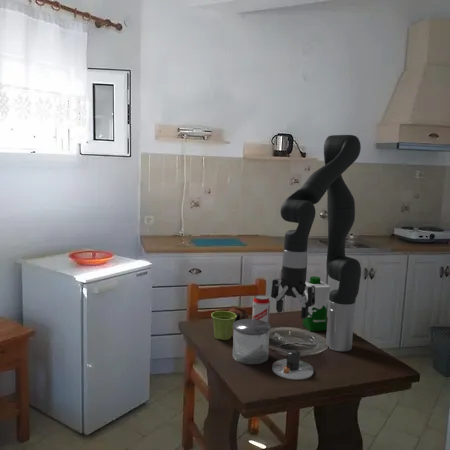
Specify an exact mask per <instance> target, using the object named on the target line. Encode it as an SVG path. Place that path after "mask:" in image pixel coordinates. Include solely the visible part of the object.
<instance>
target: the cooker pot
mask: <svg viewBox="0 0 450 450" xmlns="http://www.w3.org/2000/svg"><path fill="white" fill-rule="evenodd" d="M271 329H272V327H271V324H270V323H269V324H268V323H267V322H264V321H261V320H256V319H252V318H248V319H242V320H238V321H235V322H234V323H233V332H232V335H233V338H232V358H233V359H234V361H236V362H238V363H242V364H244V365H259V364H263V363H265V362H267V361H268V360H269V349H270V330H271Z"/></svg>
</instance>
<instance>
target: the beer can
mask: <svg viewBox="0 0 450 450" xmlns="http://www.w3.org/2000/svg"><path fill="white" fill-rule="evenodd" d="M270 305H271V300H270V297H269V296H268V295H265V294H257V295H255V296H254V299H253V300H252V315H251V316H252V317H251V319H256V320H261V321H264V322H267V323H268V324H270V310H271V309H270V307H271V306H270Z"/></svg>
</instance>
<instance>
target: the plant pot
mask: <svg viewBox="0 0 450 450" xmlns="http://www.w3.org/2000/svg"><path fill="white" fill-rule="evenodd" d="M210 316H211V318H212V322H213V324H212V325H213V333H214V338H215V340H222V341H228V340H230V339H231V338H232V335H233V331H234V328H233V323H234V321H235V318H236V317H237V315H236V314H235V313H232V312H228V310H227V311H226V310H216V311H214V312H211V315H210Z"/></svg>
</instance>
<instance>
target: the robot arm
mask: <svg viewBox="0 0 450 450" xmlns="http://www.w3.org/2000/svg"><path fill="white" fill-rule="evenodd" d="M361 149H362V145H361V142H360V139H359V138H358V136H357V135H354V134H336V135H335V134H331V135H328V136H327V137H326V139H325V140H324V144H323V159H324V165H323V166H321V167H320V168H318V169H317V170H315V171H314V172H312V173H311V174H310V175H309V177H308V178H307V179H306V180H305V182H304V183H303V184H302V186H300V188H298V189H297V190H296V191H294V192H293V193H292V194H291V195H289V196H288V197H287V198H285V200H284V201H283V203H282V204H281V207H280V217H281V218H282V219H283V220H284V221H286V222H289V223H295V224H298V225H297V227H296V229H292V230H291V229H290V230H288V231H286V232H285V235H284V244H283V245H284V246H283V247H284V248H283V254H282V262H281V263H282V264H281V268H282V269H281V279H280V278H275V279H272V281H271V284H272V285H271V292H270V293H271V294H270V297H271V298H273V299H275V301H276V305H275V306H276V307H275V309H276V311H277V313H283V309H284V300H283V299H284V298H285V297H286V296H287V297H293V298H297V301H298V302H299V303H300V305H301V314H300V315H301V316H300V319H302V320H303V319H305V318H306V317H307V316H308V309H309V307H311V306H313V305H315V286H311V287H310V286H306V283H305V282H307V272H308V271H307V269H308V244H309V243H308V241H309V236H310V232H311V230H312V229H311V228H312V226H313V224H314V221H315V217H316V207H315V205H316V204H318V203H319V202H320V201H321V200H322V198H323V197H324V196H325V194H326V193H327V197H326V198H327V201H326V202H327V206H326V207H327V227H328V228H327V252H326V253H327V254H326V272H327V276H329V278H331V279H332V280H335V281H337V282H339V283H338V287H337V289H332V290H330V291H329V296H328V309H327V330H326V332H325V333H326V335H325V345H326V344H327V345H328V346H329V348H328V349H329V350H332V351H336V352H349V351H351V350H352V348H353V337H354V336H353V335H354V324H355V313H356V299H357V296H358V294H359V291H360V284H361V277H362V276H361V275H362V266H361V264H360V261H359V260H358V259H356V258H353V257H350V256H347V255H346V247H345V246H346V240H347V236H348V235H349V232H350V231H351V229H352V228H353V225H354V223H355V221H356V220H355V217H356V207H355V206H356V204H355V202H356V201H355V198H354V195H353V194H352V192H351V191H350V189H349V187H348V186H347V185H348V184H346V182H345V180H344V178H343V175H342V174H343V173H344V172H345V171H346V170H348V168H349V167H351V166H352V165H353V164H354V163H355V162H356V161H357V159H358V157H359V156H360V154H361ZM280 287H281V288H282V289H281V291H280ZM305 290H306V291H307V293H308V300H307V296H306V294H305ZM279 291H280V292H279Z"/></svg>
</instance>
